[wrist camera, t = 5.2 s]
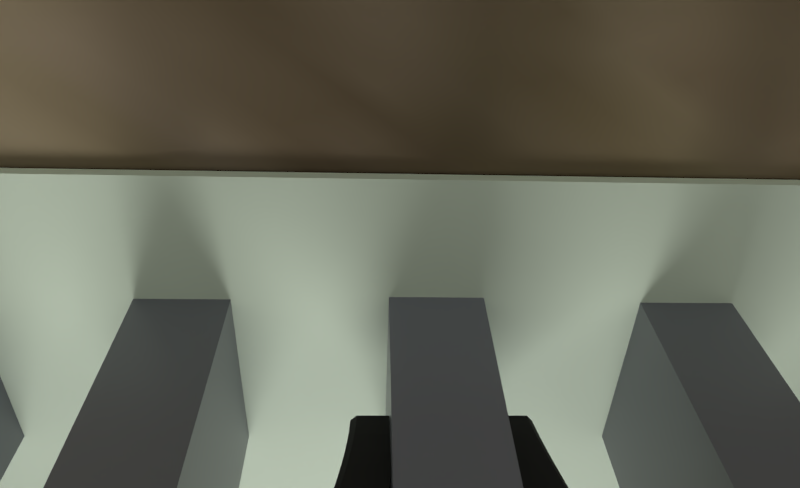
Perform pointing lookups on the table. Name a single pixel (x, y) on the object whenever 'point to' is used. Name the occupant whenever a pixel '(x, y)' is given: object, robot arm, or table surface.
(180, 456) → the tile
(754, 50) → the table surface
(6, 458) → the dark grey block
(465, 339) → the tile
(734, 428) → the tile
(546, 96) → the table surface
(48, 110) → the table surface
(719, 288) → the felt strip
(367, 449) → the robot arm
